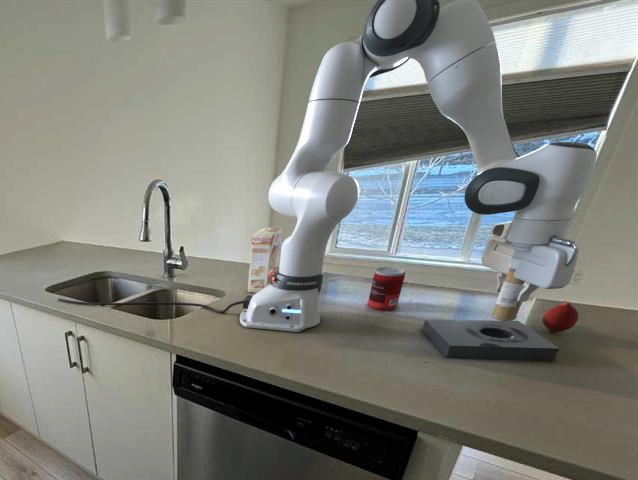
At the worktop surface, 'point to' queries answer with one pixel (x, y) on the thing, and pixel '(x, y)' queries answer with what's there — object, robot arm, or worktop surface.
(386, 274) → the canned food
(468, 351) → the dark grey slab holder
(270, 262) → the coffeecake box
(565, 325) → the onion
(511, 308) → the sprinkles bottle
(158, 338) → the worktop surface
